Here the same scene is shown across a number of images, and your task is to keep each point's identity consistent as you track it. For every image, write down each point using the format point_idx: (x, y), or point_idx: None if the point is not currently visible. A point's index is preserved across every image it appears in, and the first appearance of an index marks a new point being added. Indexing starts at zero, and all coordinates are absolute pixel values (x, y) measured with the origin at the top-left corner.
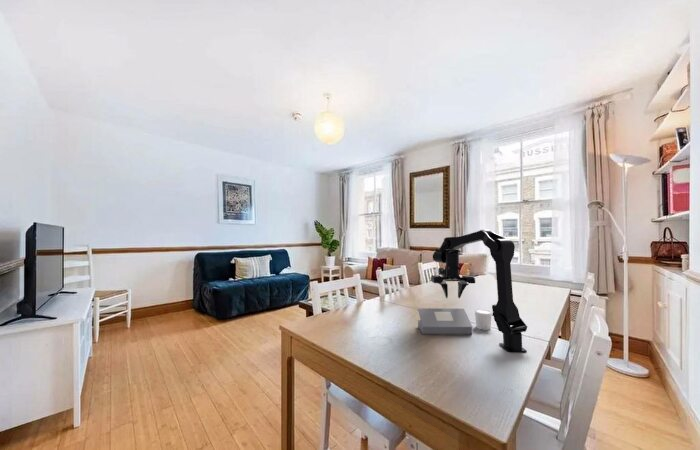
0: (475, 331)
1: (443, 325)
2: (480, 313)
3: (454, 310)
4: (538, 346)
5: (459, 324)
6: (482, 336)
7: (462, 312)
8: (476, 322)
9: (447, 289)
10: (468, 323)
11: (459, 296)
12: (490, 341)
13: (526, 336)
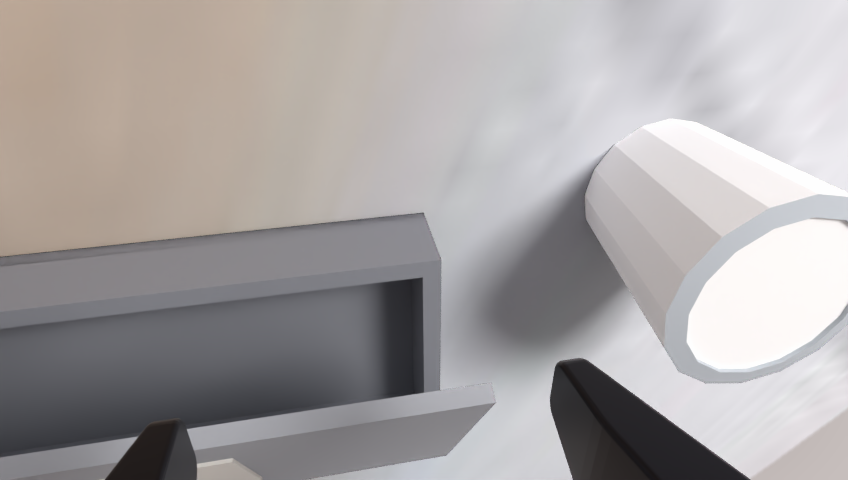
0: (502, 306)
1: None
2: (683, 371)
3: (316, 439)
4: (750, 465)
5: (319, 472)
6: (501, 397)
7: (431, 428)
8: (605, 225)
9: None
10: (425, 453)
11: (574, 466)
12: (507, 463)
13: (837, 340)
